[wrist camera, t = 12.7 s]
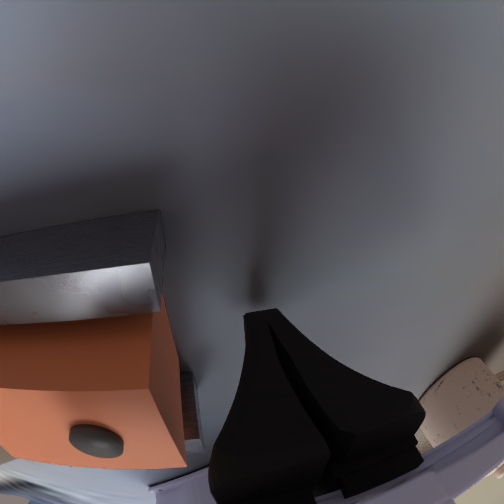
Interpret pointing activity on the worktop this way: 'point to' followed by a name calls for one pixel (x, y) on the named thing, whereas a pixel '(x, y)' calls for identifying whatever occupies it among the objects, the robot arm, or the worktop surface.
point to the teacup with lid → (461, 401)
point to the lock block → (93, 392)
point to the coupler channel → (92, 282)
